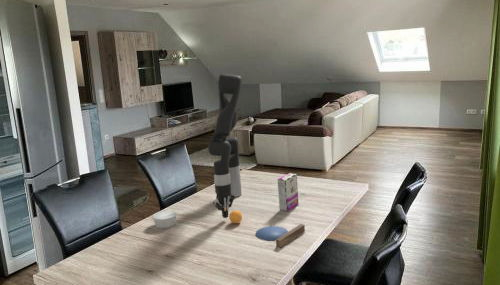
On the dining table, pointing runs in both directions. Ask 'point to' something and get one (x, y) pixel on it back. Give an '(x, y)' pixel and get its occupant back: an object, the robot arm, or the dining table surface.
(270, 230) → the blue disc
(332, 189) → the dining table surface
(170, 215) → the ramekin
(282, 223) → the dining table surface
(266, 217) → the dining table surface
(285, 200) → the candy bar box
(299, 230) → the wooden stick
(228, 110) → the robot arm
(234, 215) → the ball
